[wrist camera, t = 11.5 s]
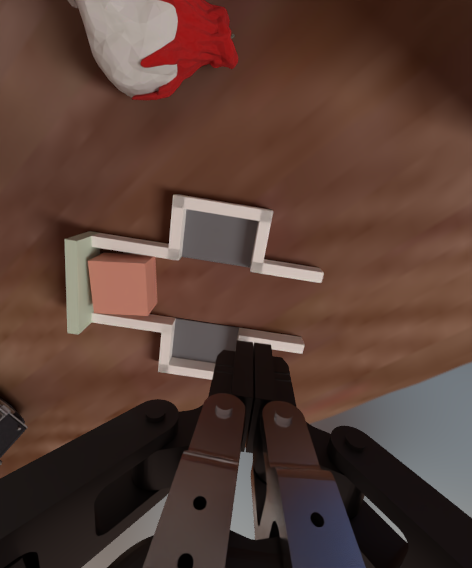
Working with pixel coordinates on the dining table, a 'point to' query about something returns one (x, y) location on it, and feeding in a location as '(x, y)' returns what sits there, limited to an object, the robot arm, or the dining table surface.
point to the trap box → (182, 243)
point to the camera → (9, 426)
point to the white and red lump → (156, 42)
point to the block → (123, 283)
